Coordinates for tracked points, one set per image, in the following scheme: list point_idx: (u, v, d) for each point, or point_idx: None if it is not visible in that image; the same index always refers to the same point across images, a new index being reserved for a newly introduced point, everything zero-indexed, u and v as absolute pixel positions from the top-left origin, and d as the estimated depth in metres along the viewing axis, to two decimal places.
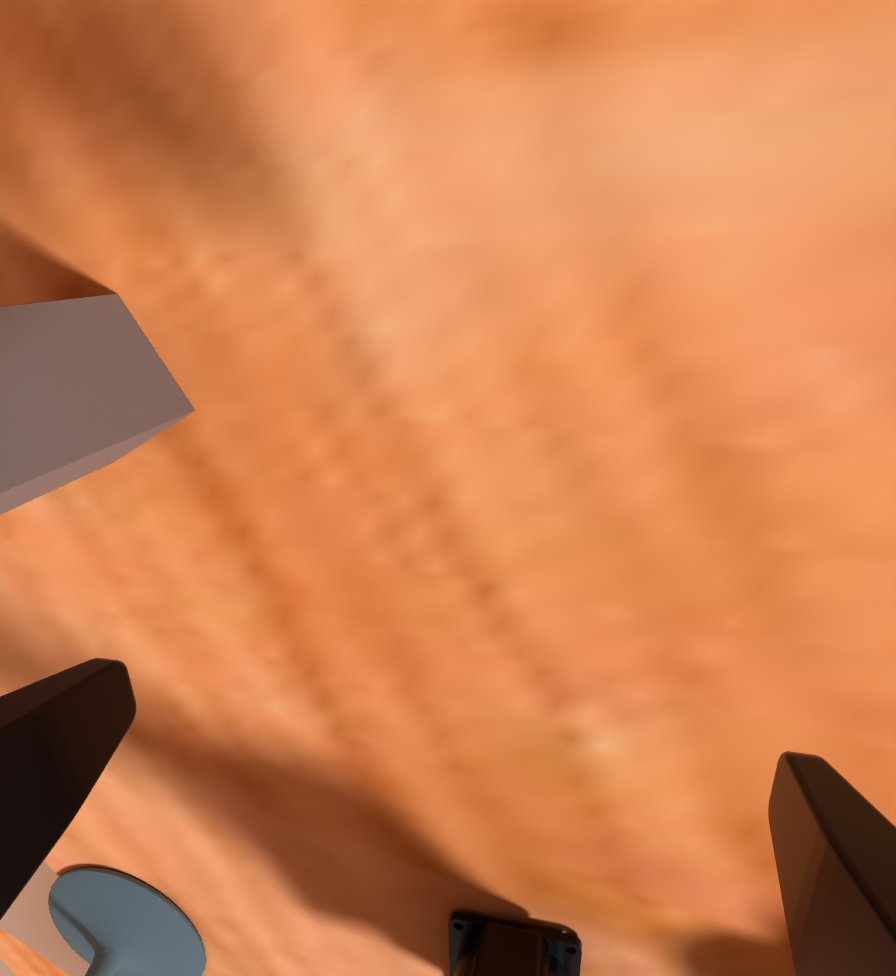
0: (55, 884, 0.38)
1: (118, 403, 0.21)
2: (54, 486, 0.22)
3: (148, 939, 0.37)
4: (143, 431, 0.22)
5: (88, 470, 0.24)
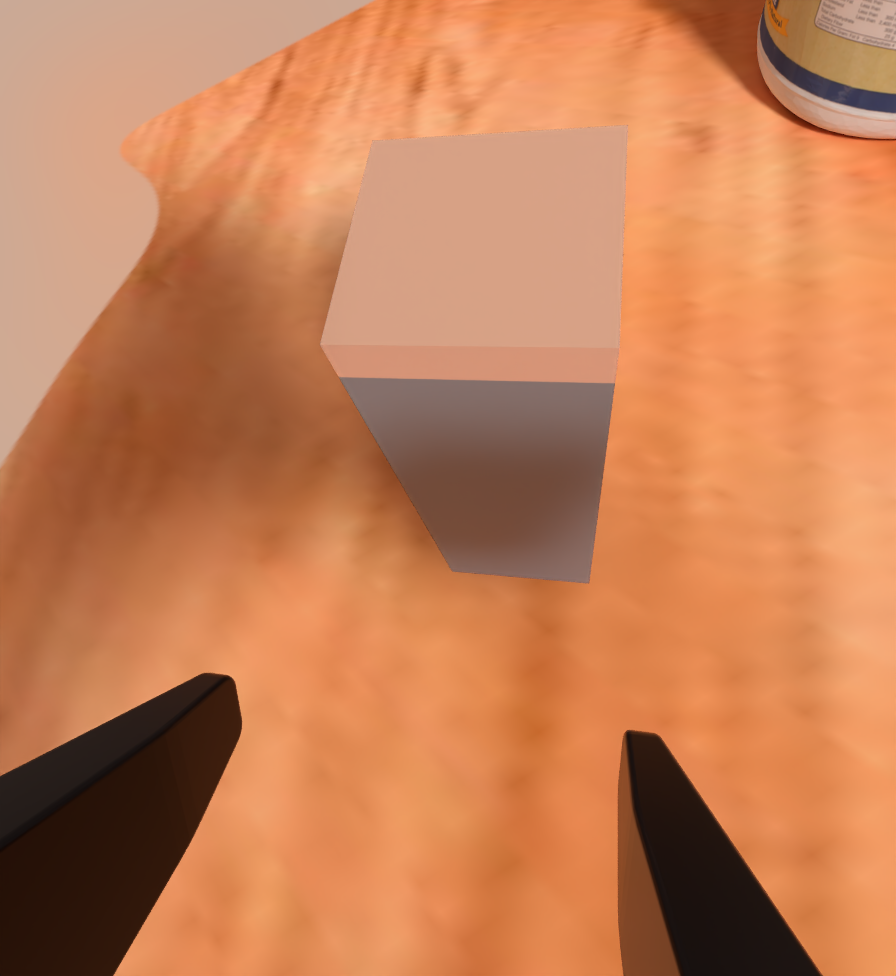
0: None
1: None
2: (463, 540, 0.20)
3: None
4: (591, 557, 0.20)
5: (474, 555, 0.21)
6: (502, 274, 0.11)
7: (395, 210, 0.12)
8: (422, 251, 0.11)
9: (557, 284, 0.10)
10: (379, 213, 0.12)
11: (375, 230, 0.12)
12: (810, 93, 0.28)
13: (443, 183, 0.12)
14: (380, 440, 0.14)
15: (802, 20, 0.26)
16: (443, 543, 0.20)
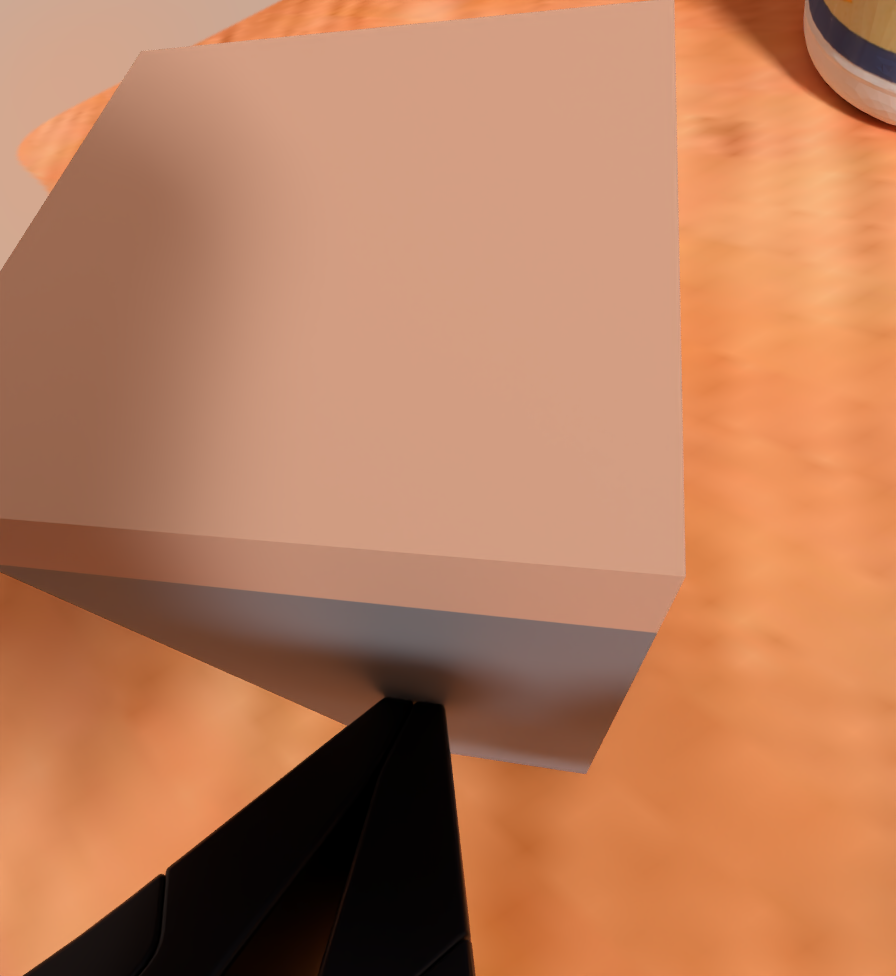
0: None
1: None
2: None
3: None
4: (590, 762, 0.12)
5: None
6: (352, 326, 0.04)
7: (142, 178, 0.05)
8: (173, 267, 0.05)
9: (495, 357, 0.04)
10: (107, 184, 0.05)
11: (87, 220, 0.05)
12: (880, 77, 0.21)
13: (257, 122, 0.05)
14: (170, 643, 0.07)
15: None
16: None
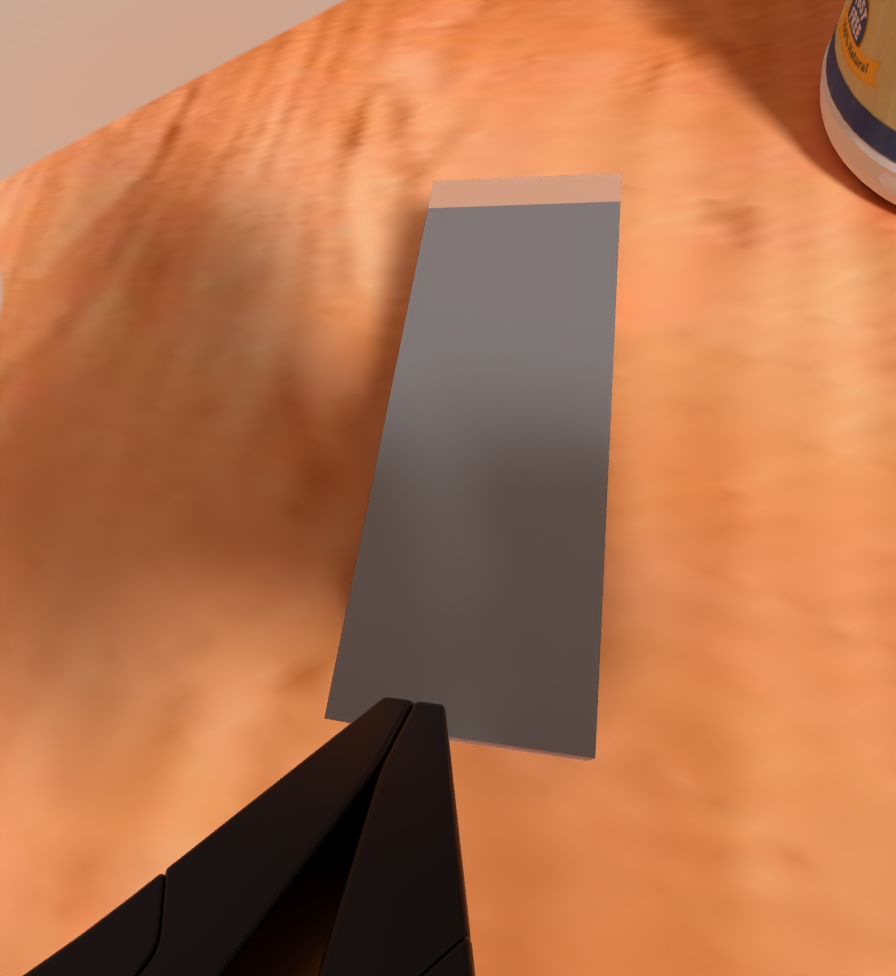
0: None
1: None
2: (407, 532, 0.13)
3: None
4: (602, 588, 0.12)
5: (403, 603, 0.12)
6: None
7: None
8: None
9: None
10: None
11: None
12: None
13: None
14: (417, 281, 0.16)
15: None
16: (370, 551, 0.13)
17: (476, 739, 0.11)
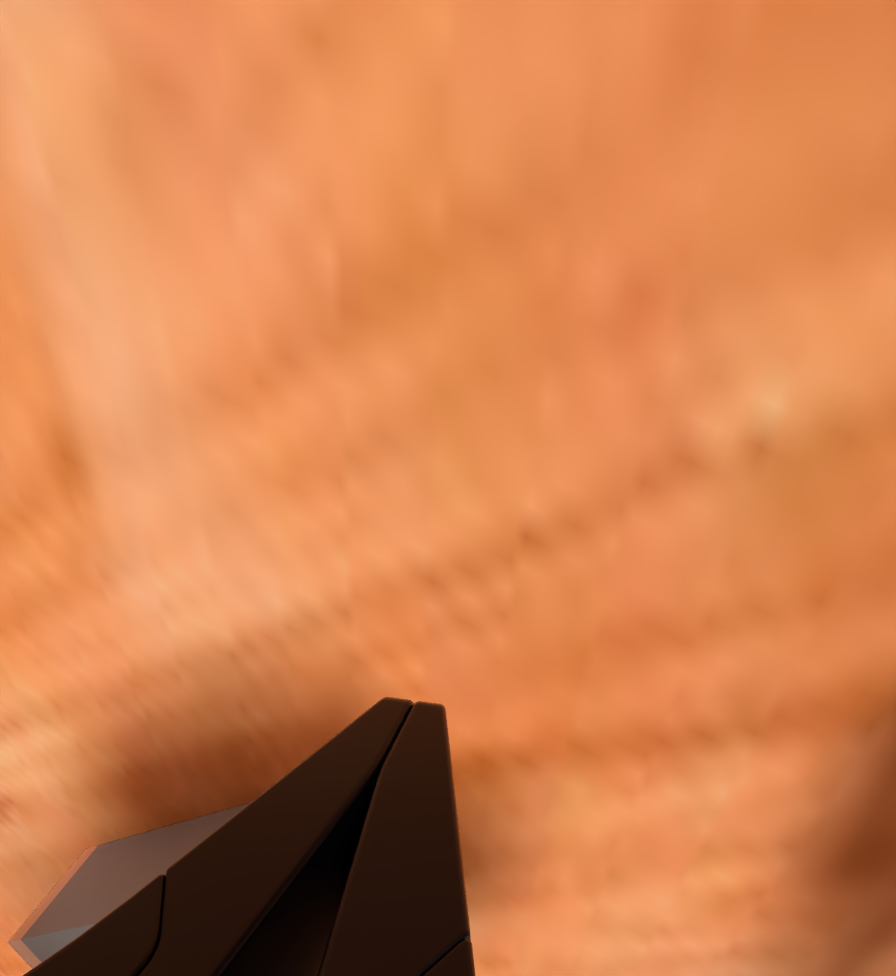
0: None
1: None
2: None
3: None
4: None
5: None
6: None
7: None
8: None
9: None
10: None
11: None
12: None
13: None
14: None
15: None
16: None
17: None
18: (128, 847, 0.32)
